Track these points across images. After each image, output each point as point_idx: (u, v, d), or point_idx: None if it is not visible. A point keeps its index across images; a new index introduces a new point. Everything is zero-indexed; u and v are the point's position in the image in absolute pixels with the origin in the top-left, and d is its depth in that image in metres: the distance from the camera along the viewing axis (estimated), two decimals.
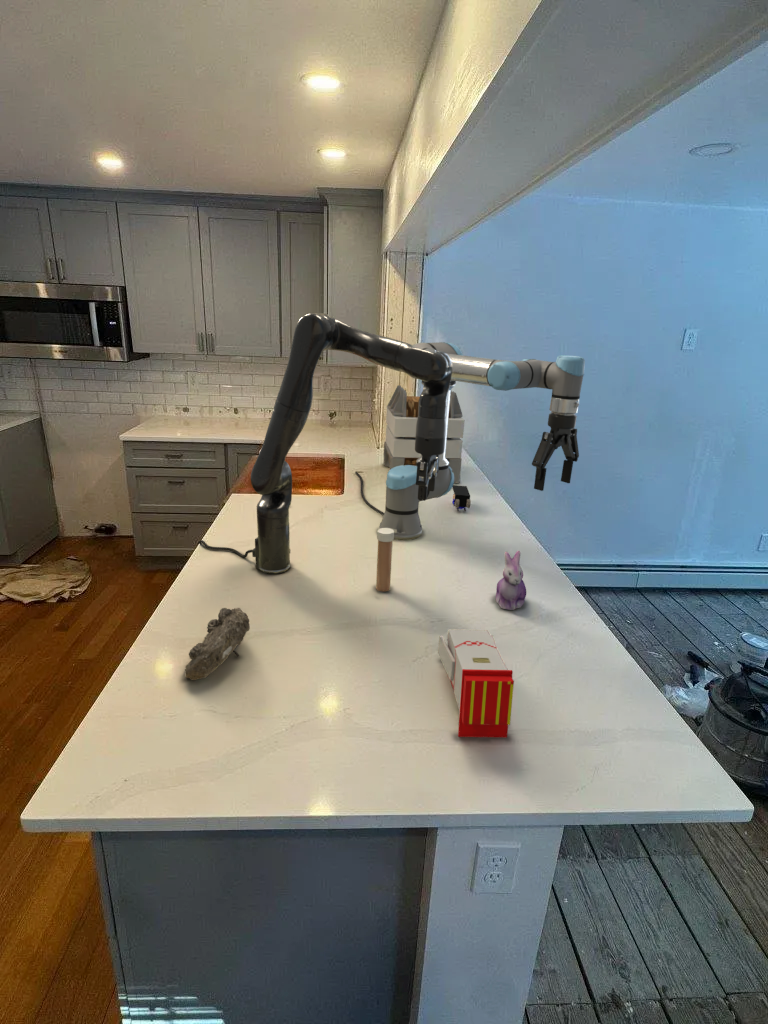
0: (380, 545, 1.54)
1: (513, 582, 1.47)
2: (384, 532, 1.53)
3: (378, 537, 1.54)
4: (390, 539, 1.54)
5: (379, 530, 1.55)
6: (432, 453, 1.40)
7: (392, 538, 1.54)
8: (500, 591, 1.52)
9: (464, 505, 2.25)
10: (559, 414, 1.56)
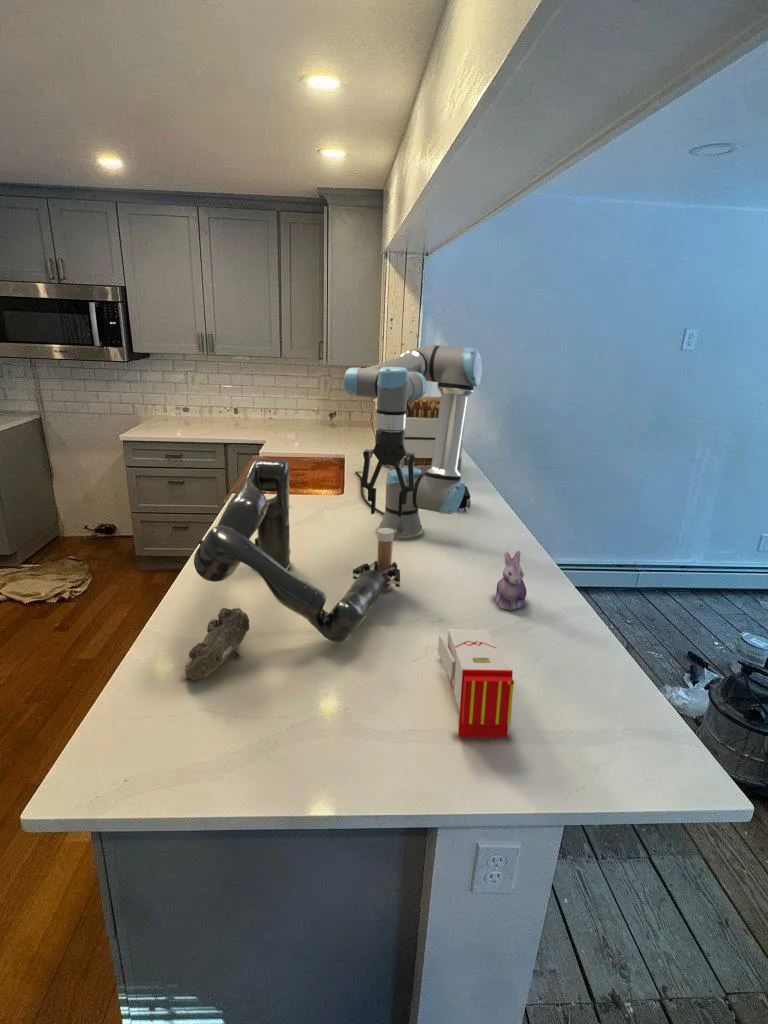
0: (380, 545, 1.54)
1: (513, 582, 1.47)
2: (384, 532, 1.53)
3: (378, 537, 1.54)
4: (390, 539, 1.54)
5: (379, 530, 1.55)
6: (384, 580, 1.48)
7: (392, 538, 1.54)
8: (500, 591, 1.52)
9: (464, 505, 2.25)
10: None
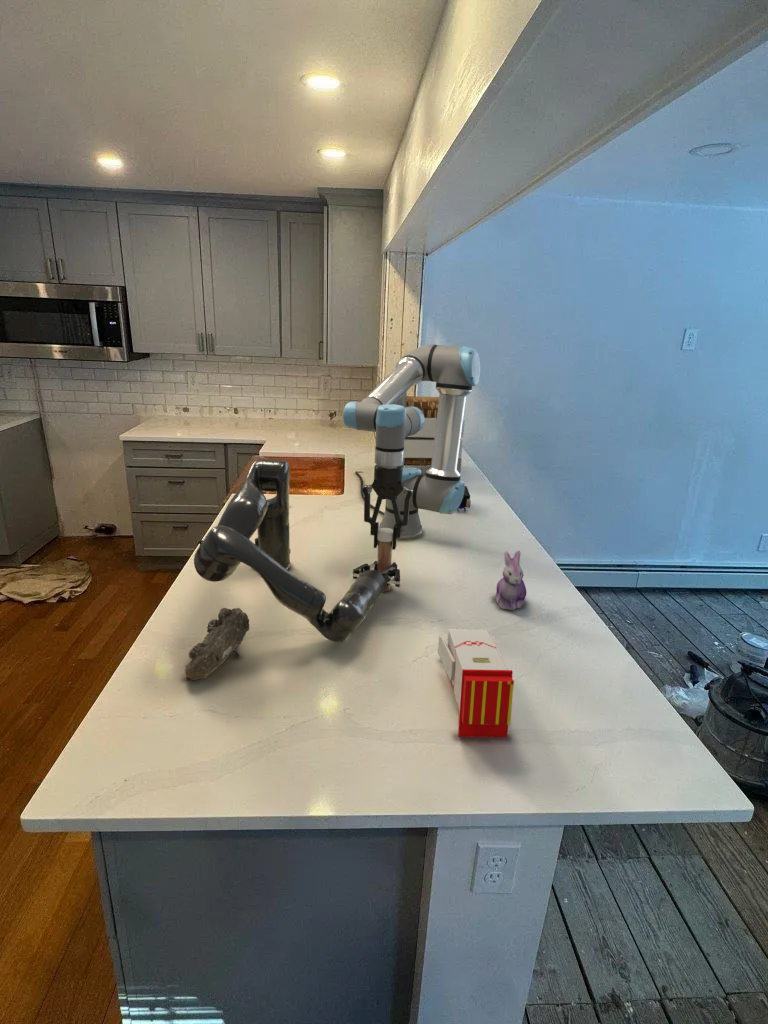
0: (380, 545, 1.54)
1: (513, 582, 1.47)
2: (384, 532, 1.53)
3: (378, 537, 1.54)
4: (390, 539, 1.54)
5: (379, 530, 1.55)
6: (384, 580, 1.48)
7: (392, 538, 1.54)
8: (500, 591, 1.52)
9: (464, 505, 2.25)
10: None
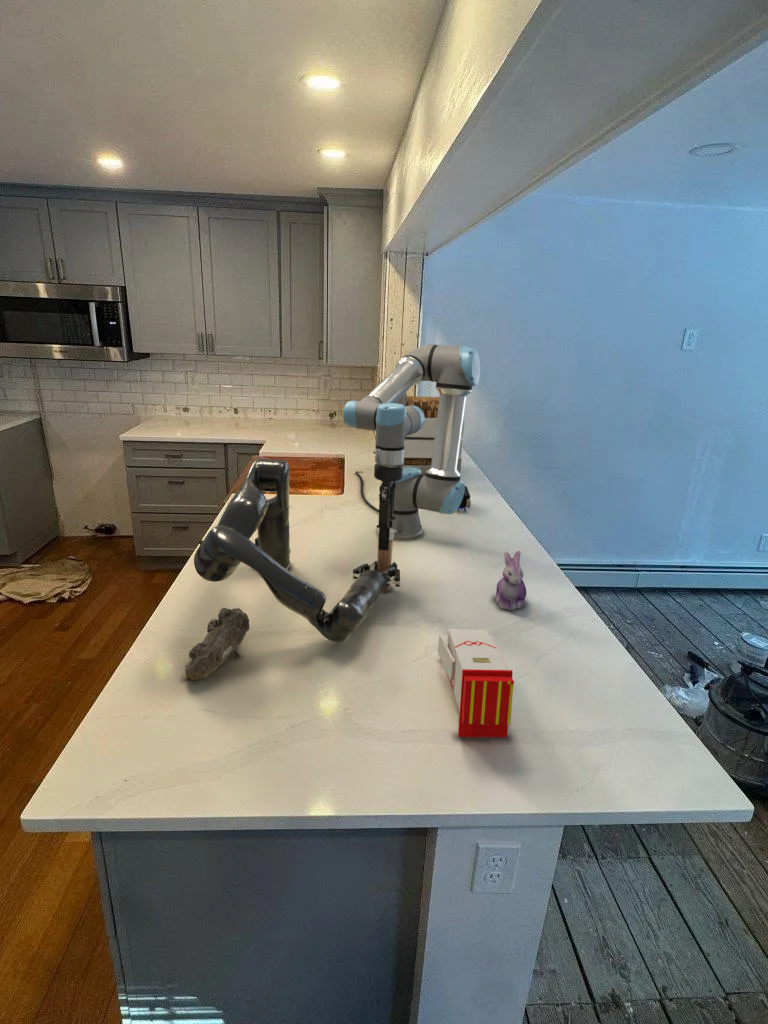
0: None
1: (513, 582, 1.47)
2: (390, 530, 1.54)
3: (389, 538, 1.53)
4: None
5: None
6: (384, 580, 1.48)
7: None
8: (500, 591, 1.52)
9: (464, 505, 2.25)
10: None
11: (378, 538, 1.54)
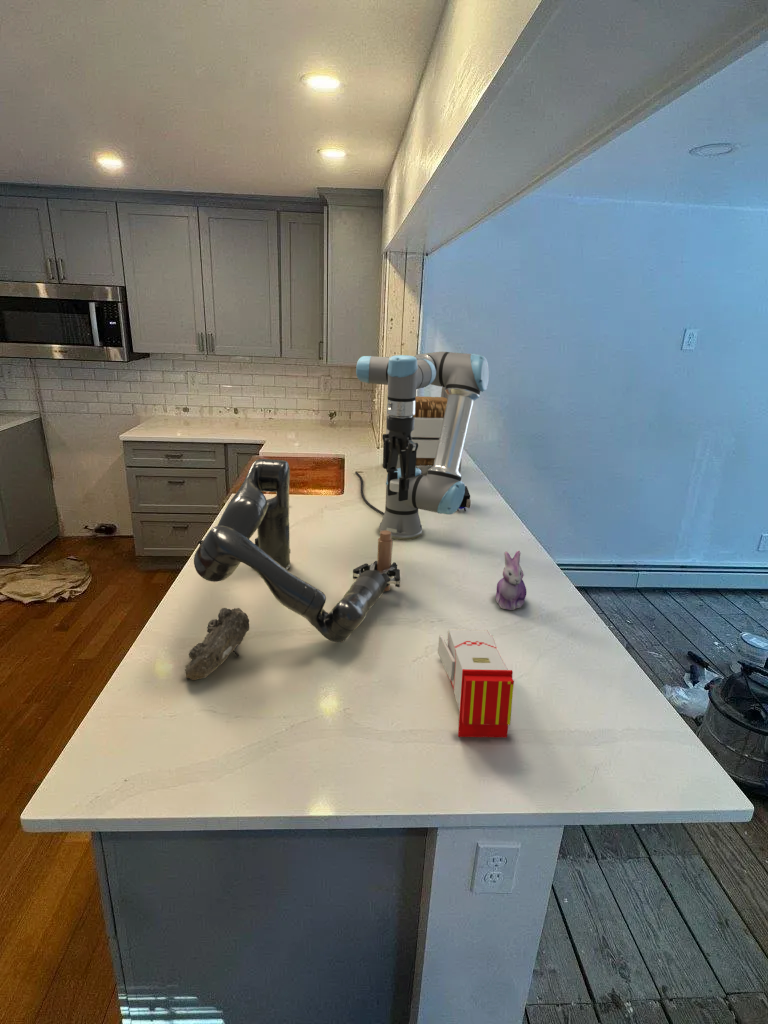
0: (380, 545, 1.54)
1: (513, 582, 1.47)
2: None
3: None
4: None
5: None
6: (384, 580, 1.48)
7: None
8: (500, 591, 1.52)
9: (464, 505, 2.25)
10: None
11: (396, 491, 1.57)
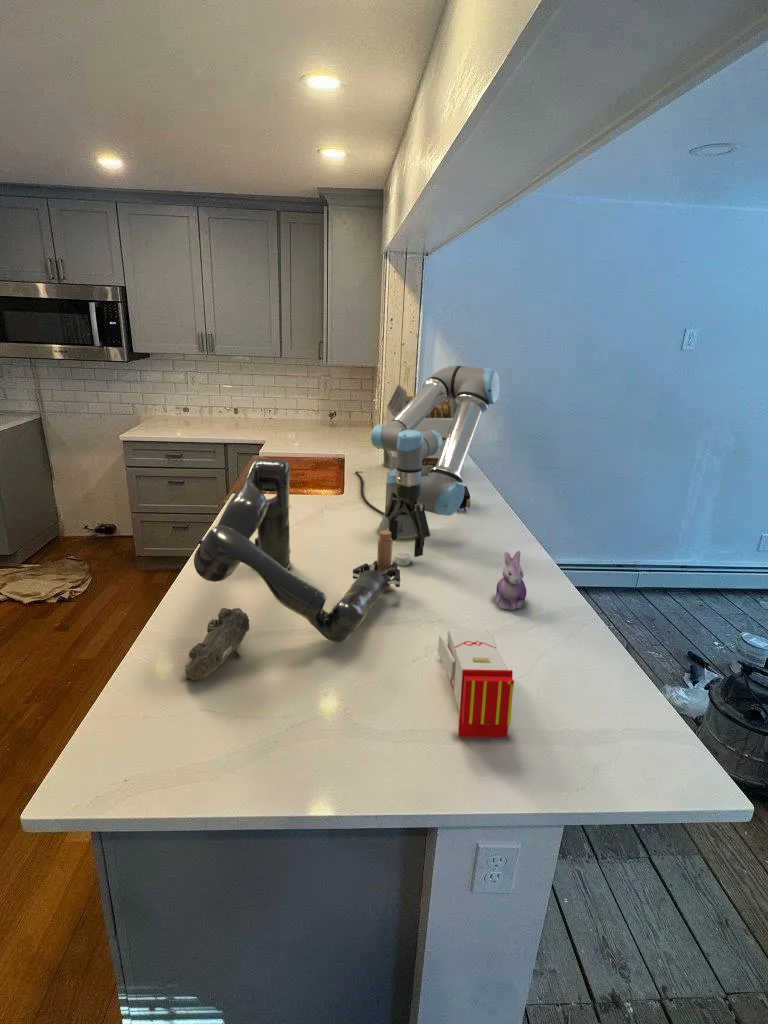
0: (380, 545, 1.54)
1: (513, 582, 1.47)
2: (406, 554, 1.77)
3: (409, 561, 1.77)
4: None
5: (406, 557, 1.76)
6: (384, 580, 1.48)
7: None
8: (500, 591, 1.52)
9: (464, 505, 2.25)
10: None
11: (401, 564, 1.75)
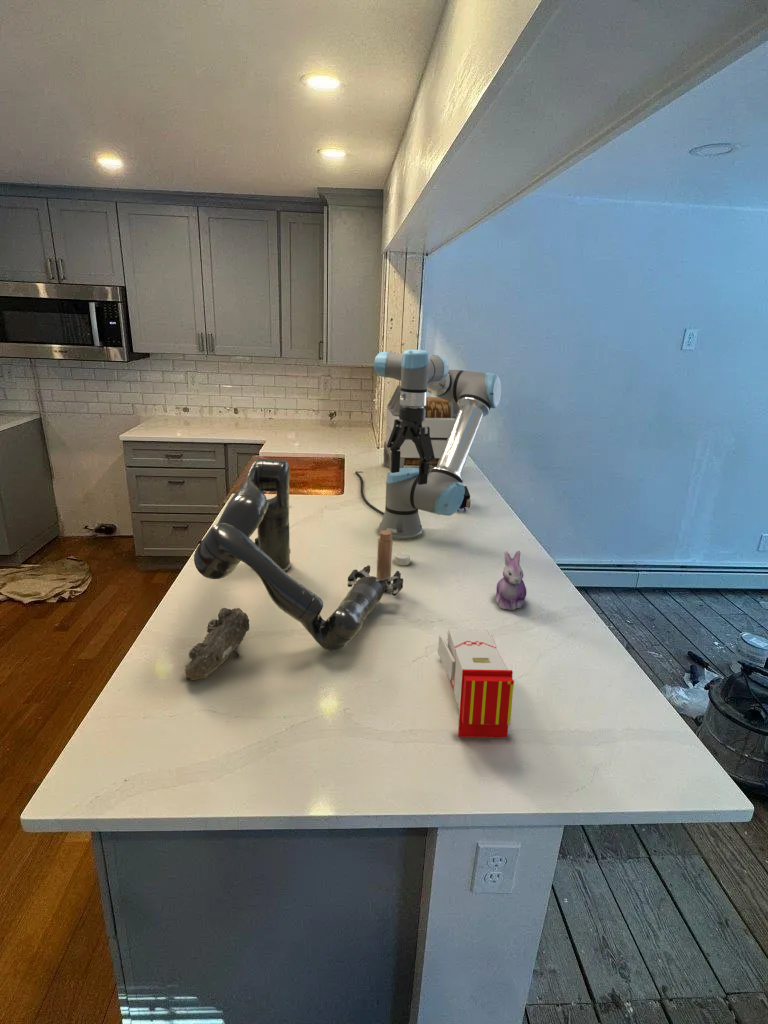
0: (380, 545, 1.54)
1: (513, 582, 1.47)
2: (406, 554, 1.77)
3: (409, 561, 1.77)
4: None
5: (406, 557, 1.76)
6: (381, 587, 1.45)
7: None
8: (500, 591, 1.52)
9: (464, 505, 2.25)
10: None
11: (401, 564, 1.75)
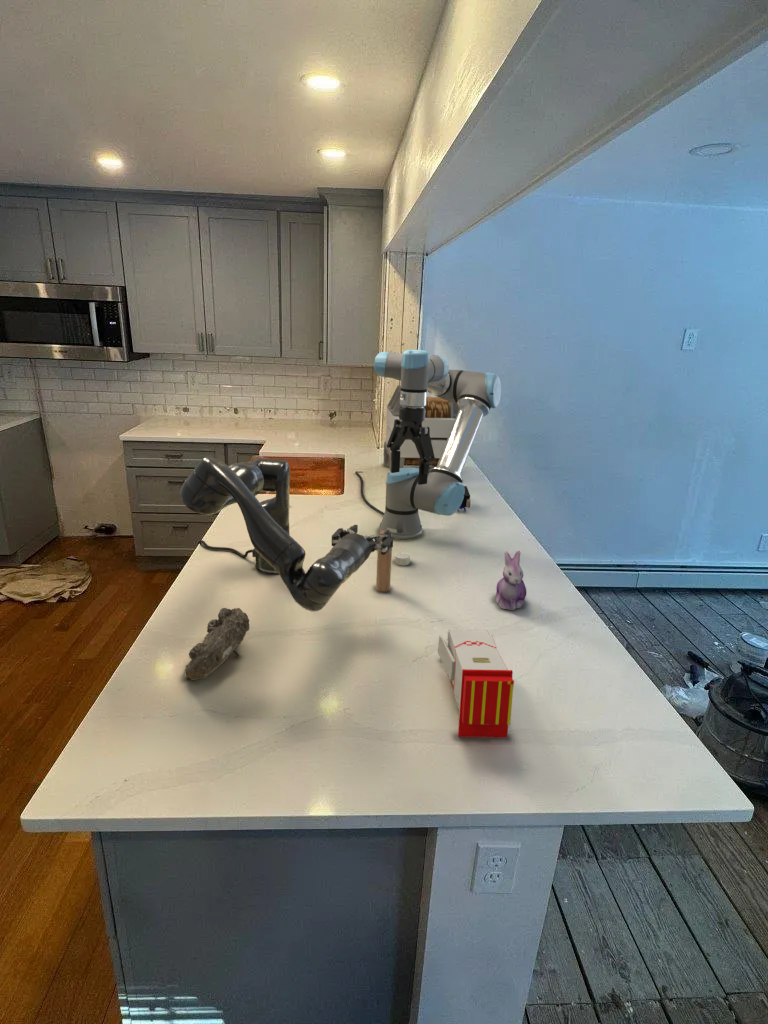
0: None
1: (513, 582, 1.47)
2: (406, 554, 1.77)
3: (409, 561, 1.77)
4: None
5: (406, 557, 1.76)
6: (368, 544, 1.31)
7: None
8: (500, 591, 1.52)
9: (464, 505, 2.25)
10: None
11: (401, 564, 1.75)
